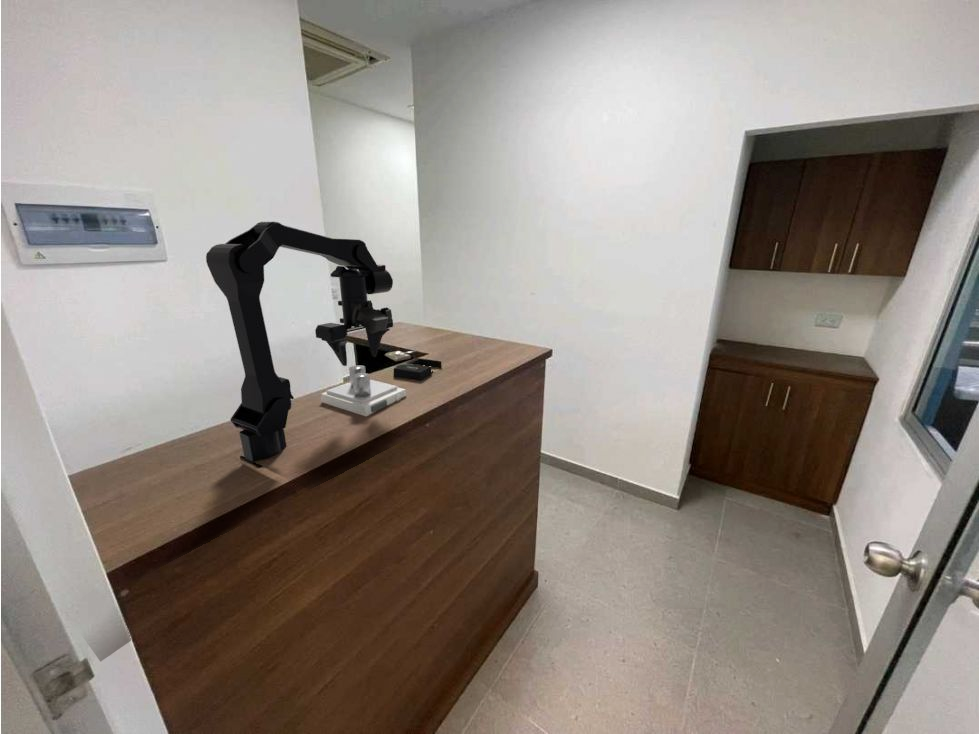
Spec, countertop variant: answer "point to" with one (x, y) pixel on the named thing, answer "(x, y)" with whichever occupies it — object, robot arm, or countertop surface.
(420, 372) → the battery charger
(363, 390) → the spacer
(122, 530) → the countertop surface
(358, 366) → the spacer
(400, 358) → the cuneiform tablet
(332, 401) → the scale
